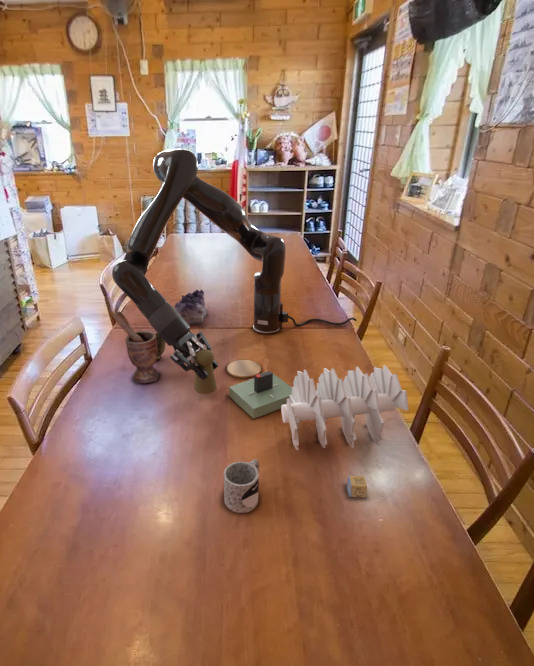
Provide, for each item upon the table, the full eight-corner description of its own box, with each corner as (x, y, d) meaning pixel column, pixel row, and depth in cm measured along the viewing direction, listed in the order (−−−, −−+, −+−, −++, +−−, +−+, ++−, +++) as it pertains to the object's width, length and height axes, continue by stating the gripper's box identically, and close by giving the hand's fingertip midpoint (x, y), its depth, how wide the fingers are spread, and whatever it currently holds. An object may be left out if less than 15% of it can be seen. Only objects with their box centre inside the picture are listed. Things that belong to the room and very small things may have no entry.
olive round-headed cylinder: (219, 383, 124) (218, 348, 119) (211, 395, 119) (210, 358, 114) (199, 380, 126) (197, 345, 121) (190, 391, 121) (188, 355, 116)
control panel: (271, 381, 128) (271, 372, 127) (298, 402, 119) (298, 391, 118) (229, 396, 122) (228, 386, 121) (253, 418, 113) (253, 408, 111)
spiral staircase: (280, 443, 110) (380, 431, 111) (294, 464, 92) (413, 450, 94) (272, 368, 110) (373, 357, 111) (285, 375, 92) (404, 362, 94)
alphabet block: (346, 486, 92) (347, 474, 90) (362, 486, 91) (363, 475, 90) (349, 498, 89) (351, 486, 87) (365, 498, 89) (367, 486, 87)
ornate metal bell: (169, 354, 144) (167, 331, 141) (164, 365, 138) (162, 341, 134) (146, 353, 145) (144, 330, 142) (140, 364, 138) (137, 341, 135)
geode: (180, 307, 180) (183, 283, 176) (209, 311, 179) (212, 287, 175) (169, 326, 161) (171, 300, 157) (201, 331, 161) (204, 305, 157)
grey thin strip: (247, 518, 85) (247, 491, 82) (217, 503, 88) (216, 477, 85) (271, 484, 92) (272, 458, 90) (243, 472, 96) (243, 447, 93)
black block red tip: (269, 385, 121) (269, 369, 119) (272, 388, 120) (273, 372, 118) (254, 390, 119) (254, 374, 117) (257, 393, 117) (257, 377, 115)
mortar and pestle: (117, 386, 127) (108, 321, 119) (122, 370, 135) (113, 308, 127) (159, 384, 128) (152, 319, 119) (161, 369, 136) (155, 307, 127)
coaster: (249, 358, 141) (249, 356, 141) (267, 372, 133) (267, 370, 133) (220, 366, 136) (220, 365, 136) (238, 381, 129) (238, 379, 128)
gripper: (161, 326, 111) (206, 379, 111) (190, 306, 122) (231, 354, 123) (145, 342, 115) (189, 393, 116) (175, 321, 127) (214, 367, 127)
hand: (210, 372), depth 119 cm, fingers closed on olive round-headed cylinder, 5 cm apart
